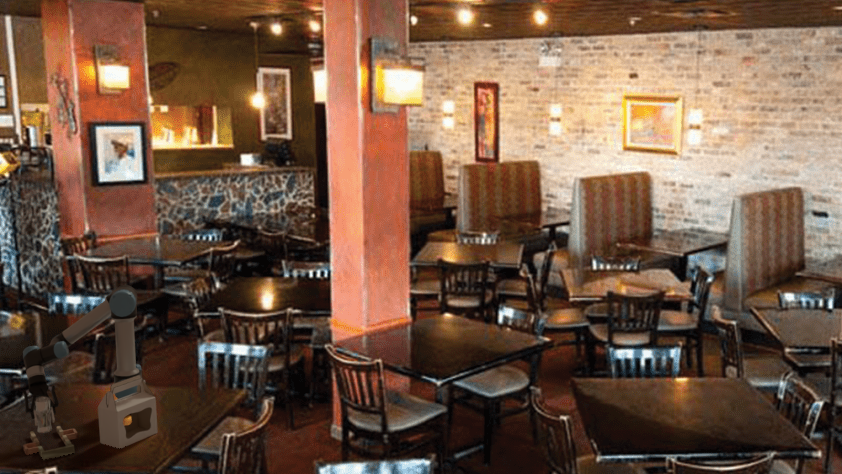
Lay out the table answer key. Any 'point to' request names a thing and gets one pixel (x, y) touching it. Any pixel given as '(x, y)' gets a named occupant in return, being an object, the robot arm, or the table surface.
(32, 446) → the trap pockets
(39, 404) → the beer glass
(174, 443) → the table surface
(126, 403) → the gable box
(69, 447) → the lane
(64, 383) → the table surface
